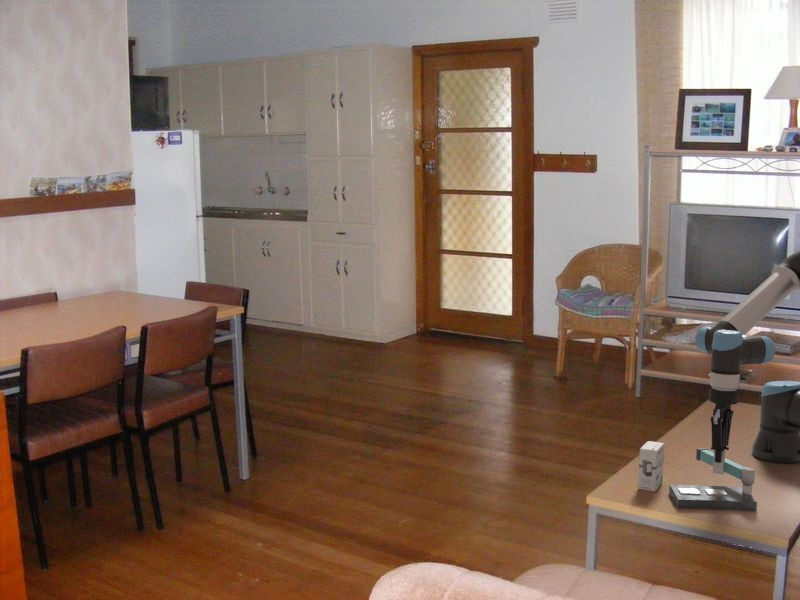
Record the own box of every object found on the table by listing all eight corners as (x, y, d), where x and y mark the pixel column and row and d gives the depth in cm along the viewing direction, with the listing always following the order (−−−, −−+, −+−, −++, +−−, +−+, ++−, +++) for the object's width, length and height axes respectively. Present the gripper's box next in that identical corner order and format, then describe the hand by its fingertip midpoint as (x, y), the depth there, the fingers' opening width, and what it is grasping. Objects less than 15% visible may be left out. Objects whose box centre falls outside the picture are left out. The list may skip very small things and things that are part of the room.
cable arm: (756, 483, 248) (757, 470, 248) (746, 485, 247) (747, 472, 247) (704, 458, 268) (705, 446, 267) (695, 459, 267) (696, 448, 266)
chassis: (745, 495, 255) (746, 476, 255) (757, 511, 245) (758, 491, 244) (669, 493, 257) (670, 474, 256) (677, 508, 246) (678, 488, 245)
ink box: (645, 479, 267) (647, 439, 266) (663, 482, 265) (665, 442, 263) (637, 489, 260) (639, 448, 258) (655, 492, 258) (657, 450, 256)
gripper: (717, 382, 261) (711, 465, 264) (702, 389, 251) (697, 475, 253) (744, 386, 257) (738, 470, 259) (731, 393, 247) (725, 481, 249)
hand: (718, 473), depth 256 cm, fingers closed
